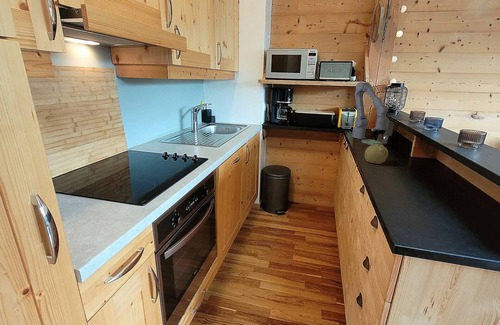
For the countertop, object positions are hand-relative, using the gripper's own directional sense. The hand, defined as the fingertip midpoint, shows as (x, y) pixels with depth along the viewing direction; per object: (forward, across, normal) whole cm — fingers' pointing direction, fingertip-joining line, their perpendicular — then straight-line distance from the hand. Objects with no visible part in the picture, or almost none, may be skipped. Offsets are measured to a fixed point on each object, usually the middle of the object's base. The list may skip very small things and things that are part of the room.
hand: (377, 139), depth 200 cm
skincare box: (+2, +28, +16) cm, 32 cm away
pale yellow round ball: (+2, -47, -40) cm, 61 cm away
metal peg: (+1, 0, -6) cm, 7 cm away
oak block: (+1, 0, 0) cm, 1 cm away
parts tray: (+1, -10, -4) cm, 11 cm away
